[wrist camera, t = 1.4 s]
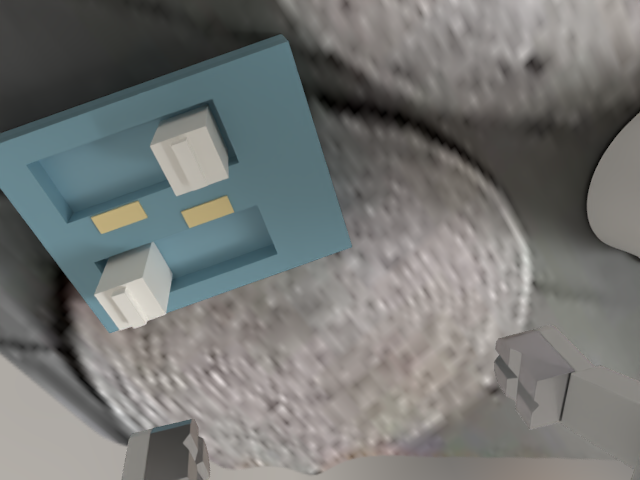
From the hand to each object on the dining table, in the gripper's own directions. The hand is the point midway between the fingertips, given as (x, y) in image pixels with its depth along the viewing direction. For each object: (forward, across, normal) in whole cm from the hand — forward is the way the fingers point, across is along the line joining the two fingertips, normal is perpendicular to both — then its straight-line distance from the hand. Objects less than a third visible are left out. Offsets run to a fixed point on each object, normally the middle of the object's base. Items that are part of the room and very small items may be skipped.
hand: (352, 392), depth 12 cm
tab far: (+20, +10, +6) cm, 24 cm away
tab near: (+20, +4, -2) cm, 21 cm away
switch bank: (+22, +6, +2) cm, 23 cm away
